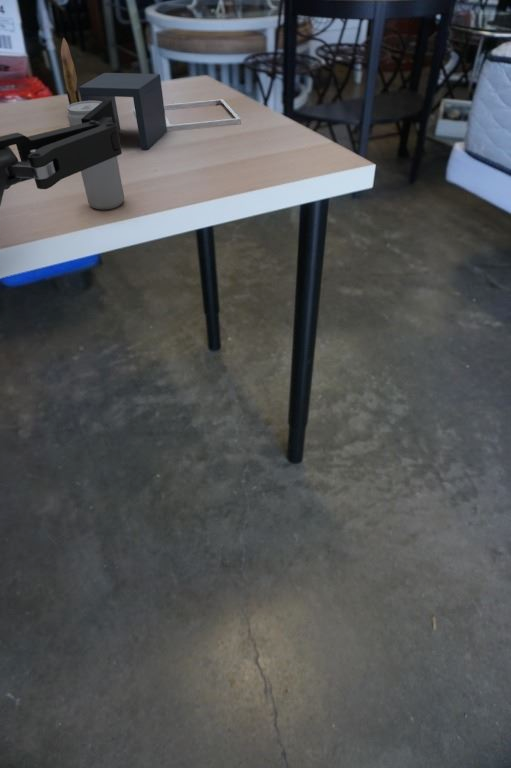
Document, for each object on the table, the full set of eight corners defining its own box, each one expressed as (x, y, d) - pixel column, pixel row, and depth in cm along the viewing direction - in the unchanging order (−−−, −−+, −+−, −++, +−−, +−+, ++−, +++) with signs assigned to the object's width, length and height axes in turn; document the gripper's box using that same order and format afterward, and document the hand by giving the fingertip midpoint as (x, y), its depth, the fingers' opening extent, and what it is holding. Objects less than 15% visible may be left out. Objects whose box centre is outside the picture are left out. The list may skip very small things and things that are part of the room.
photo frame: (132, 106, 104) (222, 98, 107) (133, 112, 104) (223, 104, 108) (141, 127, 93) (240, 117, 97) (142, 134, 94) (240, 124, 97)
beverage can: (125, 195, 73) (107, 99, 65) (125, 209, 70) (106, 109, 62) (89, 198, 73) (67, 101, 65) (87, 212, 69) (63, 112, 61)
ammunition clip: (74, 107, 108) (58, 37, 100) (83, 106, 108) (68, 36, 100) (73, 121, 100) (56, 47, 92) (83, 121, 100) (67, 46, 92)
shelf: (91, 147, 89) (78, 87, 83) (114, 129, 96) (104, 72, 90) (147, 149, 87) (138, 88, 81) (167, 131, 95) (160, 73, 89)
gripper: (-200, 240, 42) (-54, 151, 58) (105, 249, 40) (170, 154, 55) (-263, 140, 37) (-85, 73, 53) (81, 144, 35) (160, 72, 50)
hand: (46, 114), depth 54 cm, fingers open, 13 cm apart
